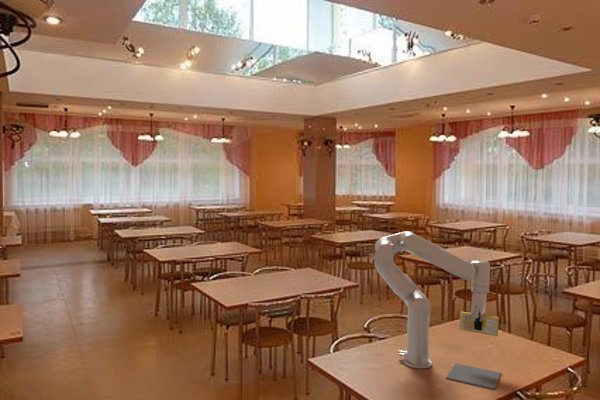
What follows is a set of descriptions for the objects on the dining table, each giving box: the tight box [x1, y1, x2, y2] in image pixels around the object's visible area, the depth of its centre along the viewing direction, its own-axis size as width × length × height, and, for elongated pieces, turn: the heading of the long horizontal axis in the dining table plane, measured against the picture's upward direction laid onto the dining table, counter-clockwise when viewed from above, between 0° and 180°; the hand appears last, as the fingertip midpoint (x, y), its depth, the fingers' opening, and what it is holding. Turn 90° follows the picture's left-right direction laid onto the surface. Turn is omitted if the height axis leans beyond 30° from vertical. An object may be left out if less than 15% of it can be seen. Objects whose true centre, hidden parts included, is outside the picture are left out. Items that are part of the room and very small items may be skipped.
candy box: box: [459, 310, 500, 337], centre depth 208 cm, size 16×2×8 cm, turn 59°
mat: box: [445, 363, 502, 391], centre depth 198 cm, size 19×17×1 cm
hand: (478, 328), depth 208 cm, fingers closed on candy box, 2 cm apart
